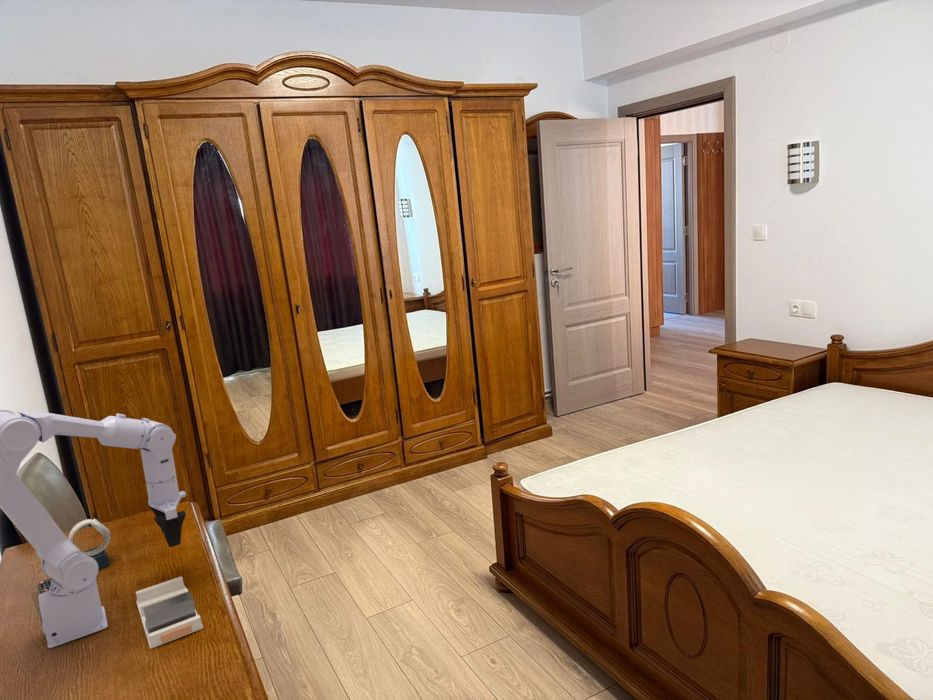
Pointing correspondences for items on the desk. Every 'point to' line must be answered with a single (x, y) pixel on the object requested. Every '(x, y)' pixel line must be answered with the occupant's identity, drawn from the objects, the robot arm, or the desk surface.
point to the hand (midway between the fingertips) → (171, 538)
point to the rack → (161, 594)
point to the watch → (98, 551)
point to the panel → (169, 612)
